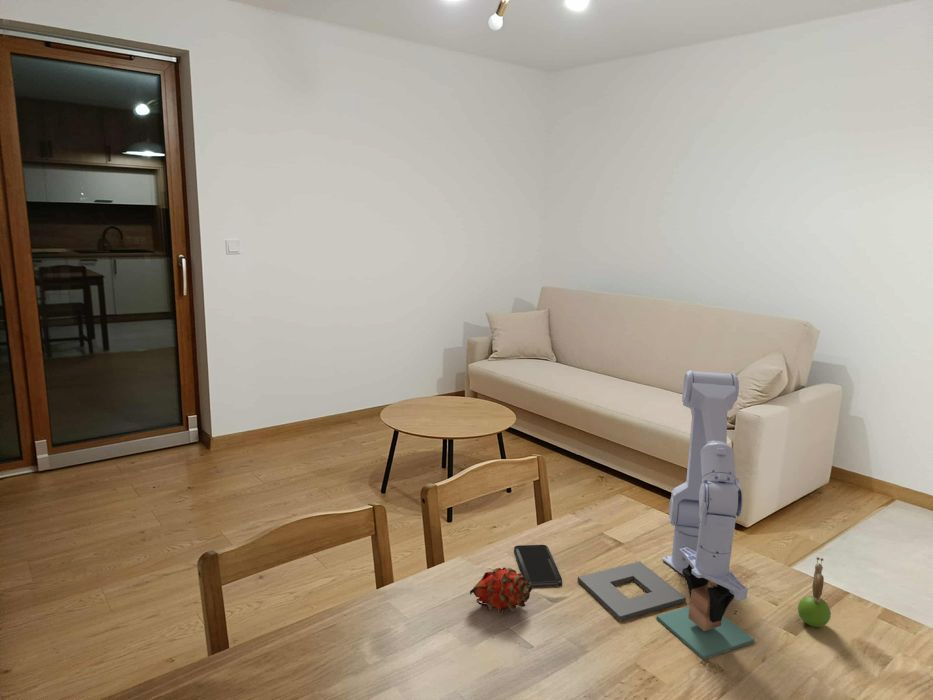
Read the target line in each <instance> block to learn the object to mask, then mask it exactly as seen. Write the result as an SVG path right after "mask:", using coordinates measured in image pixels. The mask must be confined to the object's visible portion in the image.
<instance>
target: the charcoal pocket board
mask: <svg viewBox="0 0 933 700" xmlns="http://www.w3.org/2000/svg"><path fill="white" fill-rule="evenodd" d="M632 581H633V582H634V583H635V584H637V585H638V586H639V587H640V588H642V589H643V591H645V592H646V593H643V594H640V595H636V596H632V597H627V596H626V595H625V594H624V593H622V591H620V589H618V588H617V587H616V586H615V585H619V584H620V585H621V584H623V583H624V584H625V583H627V582H632ZM577 582H578V583H579V584H580V585H581V586H582V587H583V588H584V589H585V590H586V591H587V592H588V593H590V595H592V596H593V597H594V598H595V599H596V600H597V601H598V602H599V603H600V604H601V605H602V606H603V607H604V608H605V609H606V610H608V611H609V613H611V614H612V615H613V617H615V618H616V619H617V620H618V621H619V622H620V621H621V622H622V621H625V620H629V619H631V618H634V617H638V616H642V615H645V614H646V615H647V614H648V613H652V612H656V611H658V610H662V609H666V608H670V607H672V606H676V605H680V604H683V603H686V602H687V601H686V600H687V597H686V596H685V595H684V594H683V593H681V592H680V591H679V590H677V589H676V588H675V587H673V586H672V585H671V584H670V583H669V582H667V581H666V580H665V579H663V578H662V577H661V576H659V575H658V574H657V573H655V572H654V571H653V570H651V568H649V567H648V566H647V565H646V564H644V563H643V562H642V561H635V562H632V563H627V564H624V565H619V566H616V567H612V568H608V569H603V570H599V571H596V572H592V573H588V574H584V575H580V576H577Z"/></svg>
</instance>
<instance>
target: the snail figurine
mask: <svg viewBox="0 0 933 700" xmlns="http://www.w3.org/2000/svg"><path fill="white" fill-rule="evenodd" d="M816 560H817V561H816V564H815V565H814V574H813V580H812V595H807V596H803V598H801V599H800V600H799V601H798V604H797V612H798V615H799V617H800V619H801V620H802V621H803V622H804V623H805V624H807V625H808V626H810V627H814V628H820V627H824V626H825V625H827V624H828V623H829V621H830V620H831V616H832V613H831V608H830V606H829V604H828V603H827V602H826V601H825V600H824V599H823V598H821V597H822V595H823V589H824V580H825V579H824V575H823V574H822V571H823V569H824V567H823V565H822V563H823V561H824V558H823V557H816ZM819 560H820V561H821V562H820V563H818V561H819Z"/></svg>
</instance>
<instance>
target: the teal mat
mask: <svg viewBox="0 0 933 700" xmlns="http://www.w3.org/2000/svg"><path fill="white" fill-rule="evenodd" d="M689 608H690V605H688V606H684V607H682V608H678V609H675V610H671V611H669V612H665V613H662V614H661V613H660V614H657V615H656V620H657V621H659V622H660V623H661V624H662V625H663V626H664V627H665V628H666V629H668V630H669V632H671V633H672V634H673V635H675V636H676V637H677V638H678V639H679V640H680V641H681V642H683V643H684V644H685V645H686V646H687V647H688V648H690V649H691V650H692V651H693V652H694V653H695V654H696V655H697V656H699V657H700V658H701V659H702V660H706V659H709V658H712V657H715V656H718V655H720V654H723V653H727V652H729V651H733V650H734V649H735V650H736V649H739V648H741V647H744V646H747V645H750V644H752V643H755V638H753V636H751V635H750V634H748V633H747V632H746V631H744V630H743V629H742V628H740V627H739V626H738V625H737V624H736V623H734V622H733V621H731V620H730V619H729V618H728V617H726V616H725V615H723V617H722V622H721V626H719V627H716V628H713V629H709V630H706V631H703V630H702V629H701V628H700V627H699V626H697V625H696V624H695V623H694V622H693V621H691V620H690V619H689V618H688V616H689Z"/></svg>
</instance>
